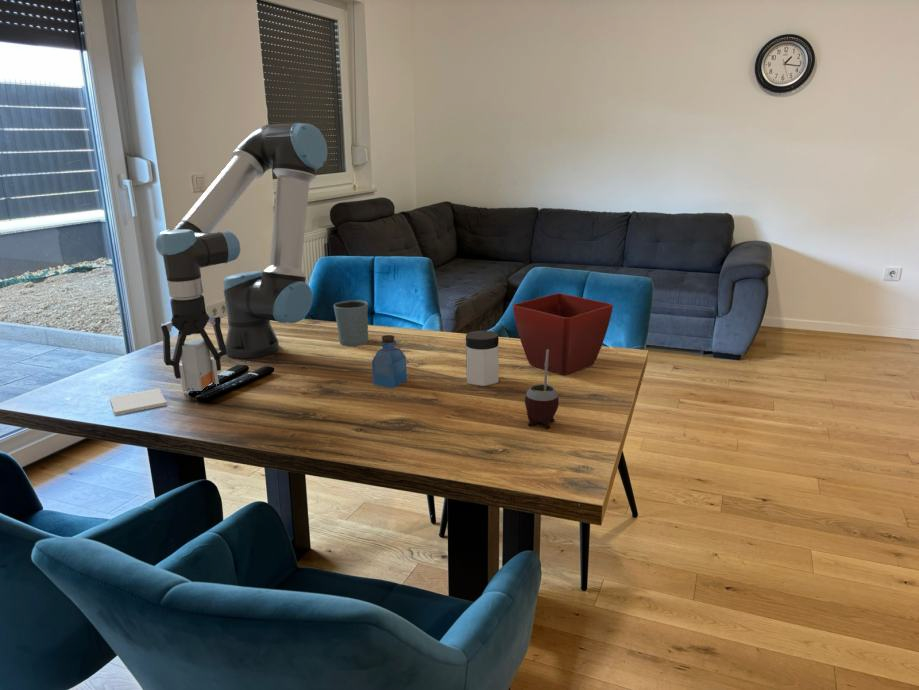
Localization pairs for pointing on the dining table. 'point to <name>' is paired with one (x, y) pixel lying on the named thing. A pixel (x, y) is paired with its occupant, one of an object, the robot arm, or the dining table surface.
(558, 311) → the plant pot
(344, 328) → the grey cup
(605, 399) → the dining table surface
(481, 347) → the jar
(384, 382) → the perfume bottle
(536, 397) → the mate gourd
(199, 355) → the skincare box
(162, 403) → the coaster
